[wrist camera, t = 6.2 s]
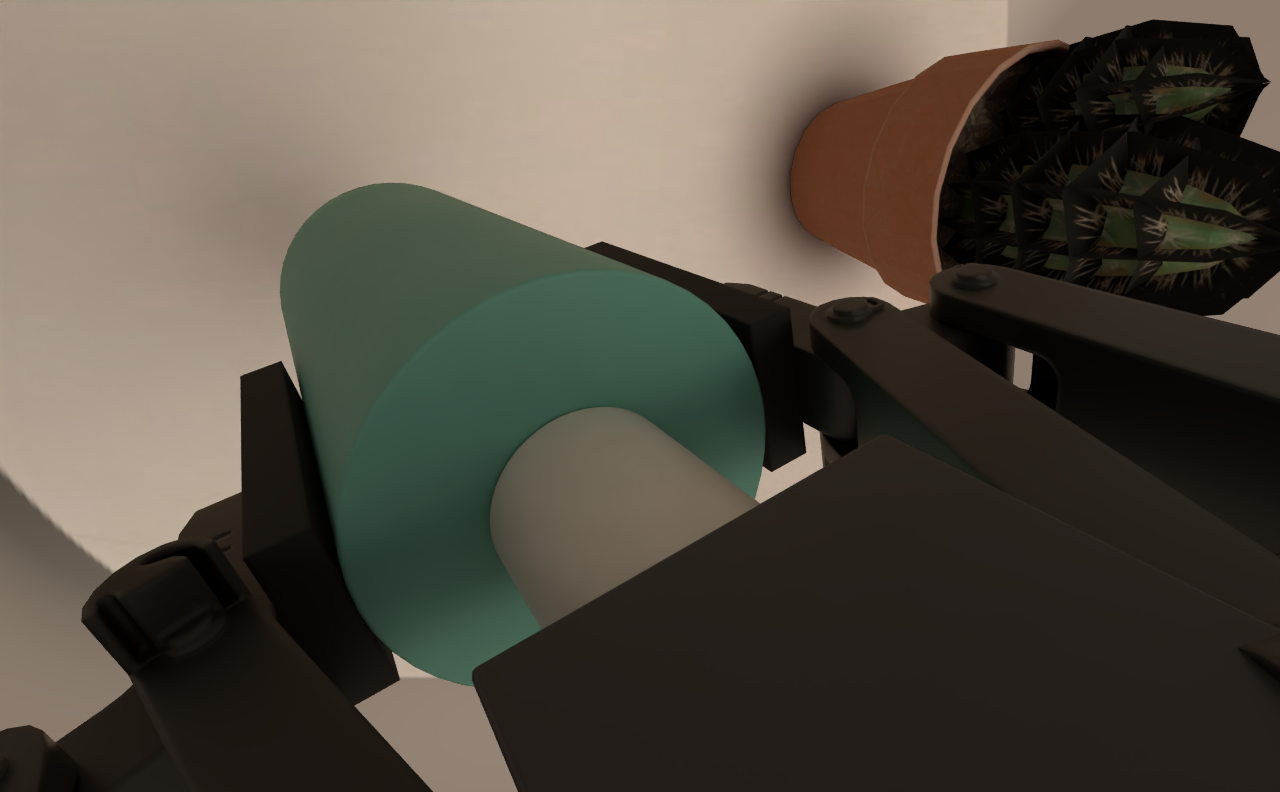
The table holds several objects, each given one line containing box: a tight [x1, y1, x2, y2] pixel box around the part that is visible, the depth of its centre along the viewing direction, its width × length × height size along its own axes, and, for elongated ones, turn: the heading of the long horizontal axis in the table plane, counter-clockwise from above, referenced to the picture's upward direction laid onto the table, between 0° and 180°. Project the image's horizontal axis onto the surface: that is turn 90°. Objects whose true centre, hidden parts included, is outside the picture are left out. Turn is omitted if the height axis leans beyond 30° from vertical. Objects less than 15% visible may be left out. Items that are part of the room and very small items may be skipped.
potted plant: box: [791, 20, 1280, 316], centre depth 35 cm, size 14×14×25 cm
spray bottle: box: [280, 183, 1280, 792], centre depth 12 cm, size 7×6×21 cm
